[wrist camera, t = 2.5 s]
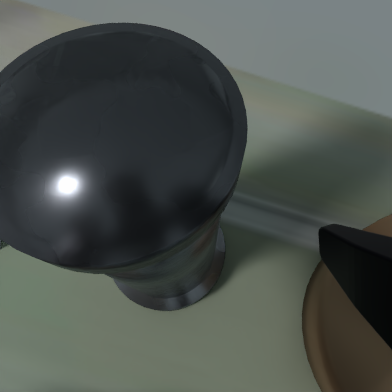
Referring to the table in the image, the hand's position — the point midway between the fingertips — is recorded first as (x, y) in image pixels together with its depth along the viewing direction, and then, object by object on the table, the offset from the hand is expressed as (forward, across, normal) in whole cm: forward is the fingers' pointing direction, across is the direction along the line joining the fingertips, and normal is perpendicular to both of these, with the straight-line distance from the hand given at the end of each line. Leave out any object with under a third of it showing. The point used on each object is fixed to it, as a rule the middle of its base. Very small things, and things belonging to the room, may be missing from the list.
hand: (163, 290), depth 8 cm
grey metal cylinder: (+10, 0, +5) cm, 11 cm away
